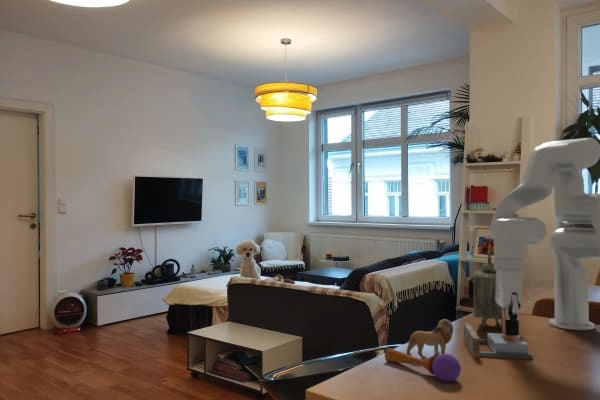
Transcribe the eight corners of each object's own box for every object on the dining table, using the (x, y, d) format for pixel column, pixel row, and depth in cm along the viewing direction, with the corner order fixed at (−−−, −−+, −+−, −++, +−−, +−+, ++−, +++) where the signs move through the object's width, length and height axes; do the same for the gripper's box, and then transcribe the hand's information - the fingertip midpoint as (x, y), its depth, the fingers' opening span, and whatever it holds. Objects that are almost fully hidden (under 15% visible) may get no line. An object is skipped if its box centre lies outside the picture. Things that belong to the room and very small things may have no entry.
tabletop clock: (478, 321, 159) (478, 246, 159) (508, 323, 155) (507, 247, 155) (473, 331, 146) (472, 250, 146) (505, 334, 142) (504, 251, 142)
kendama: (397, 342, 121) (466, 356, 105) (396, 367, 120) (465, 384, 104) (381, 342, 117) (450, 356, 101) (380, 367, 116) (449, 385, 100)
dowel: (501, 346, 128) (500, 302, 128) (515, 347, 127) (514, 303, 128) (504, 350, 125) (504, 305, 125) (519, 351, 124) (518, 305, 124)
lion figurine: (444, 349, 127) (444, 316, 127) (458, 355, 122) (458, 320, 122) (399, 357, 121) (399, 322, 122) (412, 363, 116) (412, 326, 117)
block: (487, 343, 132) (487, 332, 132) (517, 345, 130) (517, 334, 130) (495, 354, 122) (495, 343, 122) (528, 356, 121) (528, 344, 121)
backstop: (463, 340, 136) (463, 323, 136) (517, 342, 133) (517, 325, 133) (473, 357, 120) (473, 338, 120) (534, 361, 117) (534, 341, 118)
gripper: (487, 260, 135) (488, 324, 135) (501, 268, 119) (502, 341, 119) (515, 261, 134) (516, 325, 134) (533, 268, 118) (534, 342, 117)
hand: (510, 332), depth 126 cm, fingers closed on dowel, 3 cm apart
